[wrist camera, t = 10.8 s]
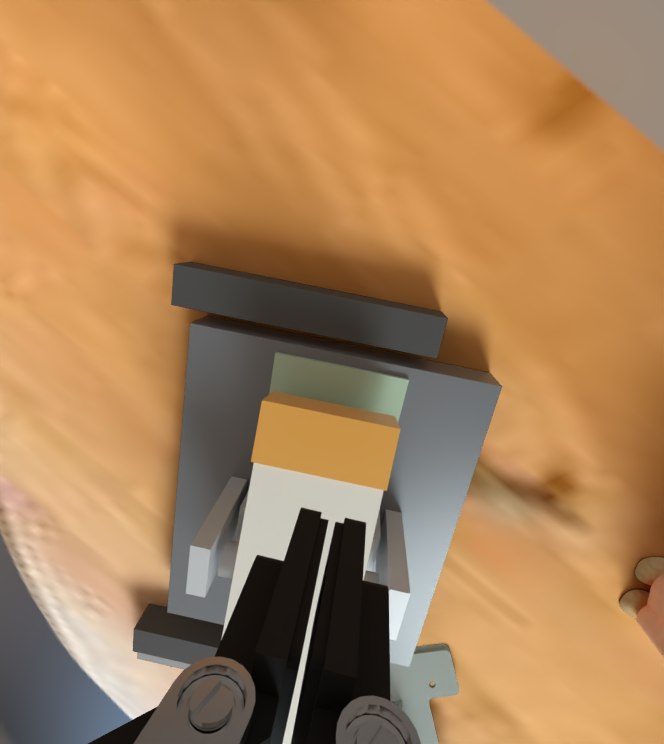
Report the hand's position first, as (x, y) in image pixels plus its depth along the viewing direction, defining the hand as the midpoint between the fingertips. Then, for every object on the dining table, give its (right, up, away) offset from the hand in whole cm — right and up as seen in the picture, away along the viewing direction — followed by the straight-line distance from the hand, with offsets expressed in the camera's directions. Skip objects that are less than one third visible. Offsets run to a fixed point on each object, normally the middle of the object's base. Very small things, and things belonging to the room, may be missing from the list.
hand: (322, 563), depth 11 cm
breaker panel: (-1, -2, +13) cm, 13 cm away
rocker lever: (-1, -3, +8) cm, 9 cm away
